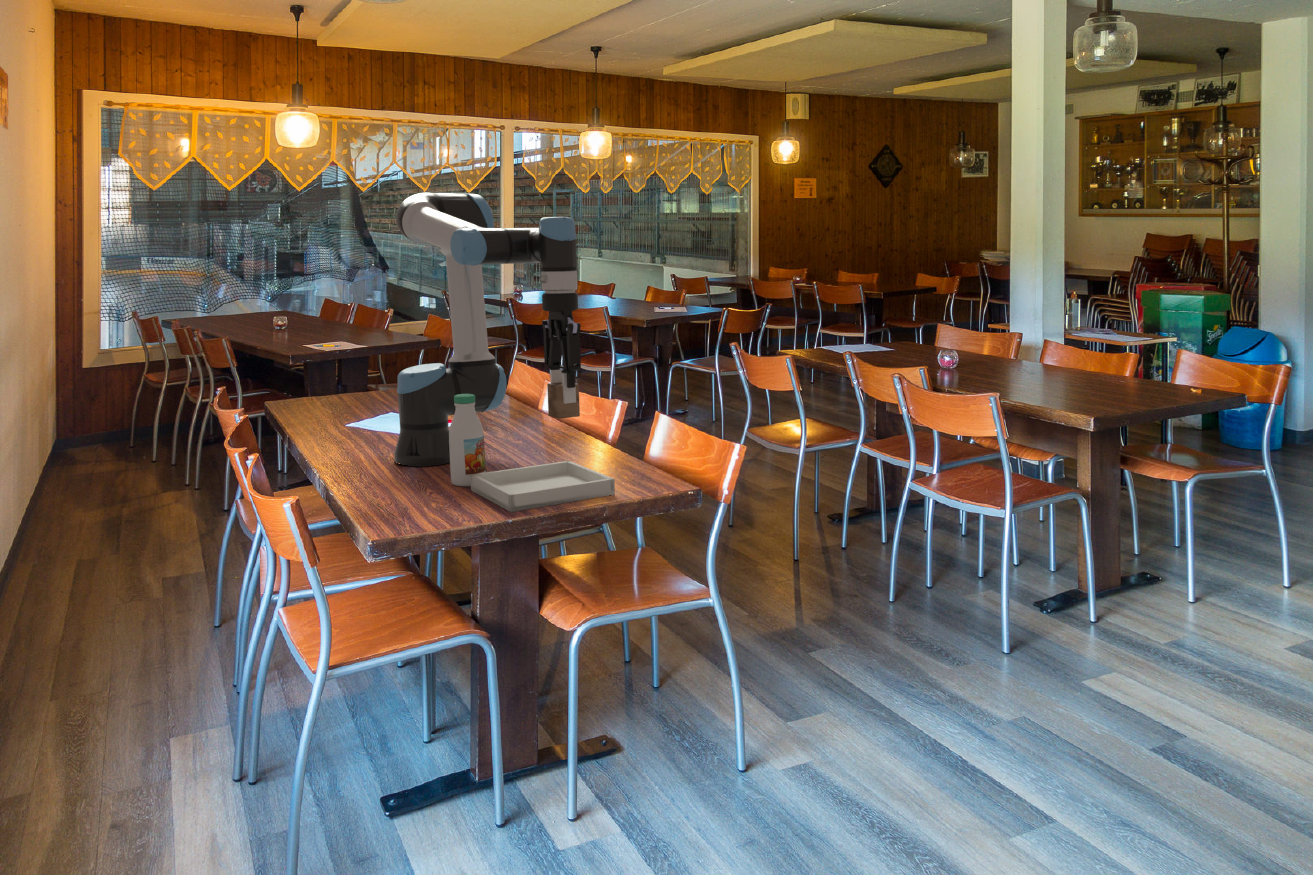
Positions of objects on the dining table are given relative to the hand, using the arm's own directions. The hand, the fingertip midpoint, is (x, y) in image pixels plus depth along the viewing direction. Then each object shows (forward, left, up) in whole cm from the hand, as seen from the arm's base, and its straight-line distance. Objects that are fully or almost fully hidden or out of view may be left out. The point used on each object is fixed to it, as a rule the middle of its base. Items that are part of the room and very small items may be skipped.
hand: (563, 401), depth 215 cm
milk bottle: (-17, -16, -20) cm, 30 cm away
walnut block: (0, 0, -3) cm, 3 cm away
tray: (0, -6, -19) cm, 20 cm away
